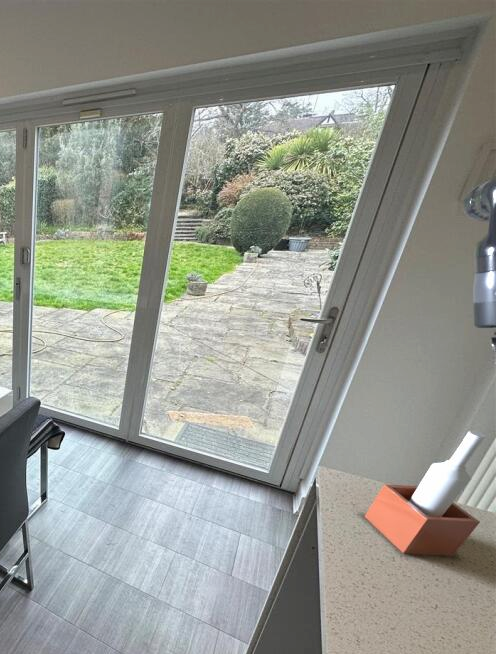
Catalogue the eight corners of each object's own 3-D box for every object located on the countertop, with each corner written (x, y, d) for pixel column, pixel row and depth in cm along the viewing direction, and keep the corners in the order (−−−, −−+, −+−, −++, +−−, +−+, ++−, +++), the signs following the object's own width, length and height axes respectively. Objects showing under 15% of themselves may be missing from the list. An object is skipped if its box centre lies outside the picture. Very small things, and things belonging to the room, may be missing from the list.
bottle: (412, 547, 81) (487, 444, 69) (383, 528, 85) (449, 428, 74) (430, 542, 82) (506, 440, 71) (400, 523, 86) (467, 424, 75)
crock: (409, 518, 88) (431, 486, 84) (453, 555, 79) (480, 521, 75) (364, 516, 88) (384, 484, 84) (403, 553, 79) (427, 519, 75)
